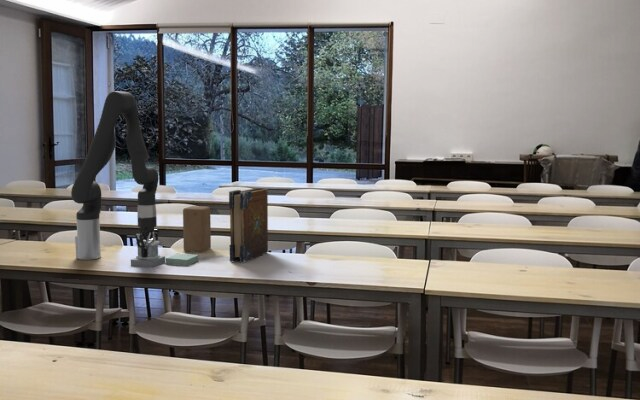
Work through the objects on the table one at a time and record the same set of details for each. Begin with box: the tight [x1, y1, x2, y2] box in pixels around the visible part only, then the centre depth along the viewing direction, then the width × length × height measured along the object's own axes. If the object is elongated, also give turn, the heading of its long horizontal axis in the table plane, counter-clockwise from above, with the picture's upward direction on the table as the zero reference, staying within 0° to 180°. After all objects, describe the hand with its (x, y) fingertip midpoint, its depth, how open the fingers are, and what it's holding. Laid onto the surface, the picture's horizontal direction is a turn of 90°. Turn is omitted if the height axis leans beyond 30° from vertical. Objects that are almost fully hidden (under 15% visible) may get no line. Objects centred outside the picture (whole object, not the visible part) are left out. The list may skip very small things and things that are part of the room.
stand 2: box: [165, 253, 200, 267], centre depth 253 cm, size 10×10×2 cm
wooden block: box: [182, 205, 212, 253], centre depth 278 cm, size 10×10×20 cm
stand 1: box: [130, 255, 166, 268], centre depth 250 cm, size 10×10×2 cm
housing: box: [135, 240, 161, 260], centre depth 249 cm, size 8×5×7 cm, turn 74°
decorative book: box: [228, 187, 269, 264], centre depth 263 cm, size 23×7×30 cm, turn 157°
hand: (148, 255), depth 249 cm, fingers closed on housing, 5 cm apart
